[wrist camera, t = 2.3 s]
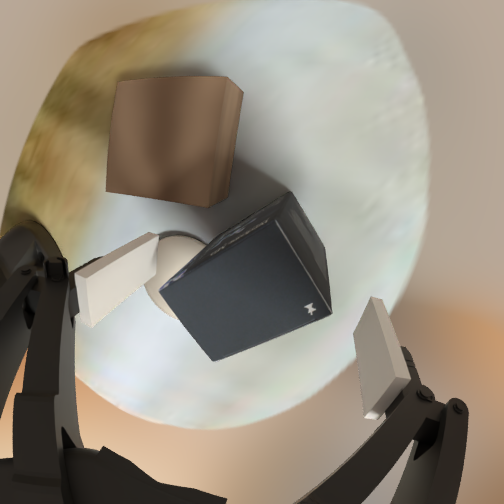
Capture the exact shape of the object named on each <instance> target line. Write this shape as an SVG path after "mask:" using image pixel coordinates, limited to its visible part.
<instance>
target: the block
mask: <svg viewBox="0 0 504 504" xmlns="http://www.w3.org/2000/svg"><path fill="white" fill-rule="evenodd" d="M243 93H244V92H243V91H242V90H241V89H240V88H239V87H238V86H237V85H236V84H235V83H233V82H232V81H231V80H230V79H229V78H228V77H217V76H180V77H159V78H146V79H135V80H127V81H119V82H118V84H117V89H116V95H115V101H114V107H113V114H112V121H111V129H110V138H109V148H108V160H107V175H106V192H112V193H119V194H126V195H132V196H139V197H145V198H152V199H158V200H164V201H171V202H177V203H183V204H188V205H194V206H200V207H206V208H209V207H211V206H213V205H215V204H216V203H218V202H220V201H222V200H224V199H226V198H228V191H229V184H230V177H231V170H232V163H233V156H234V149H235V143H236V136H237V130H238V123H239V117H240V111H241V105H242V99H243Z"/></svg>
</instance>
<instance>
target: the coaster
mask: <svg viewBox="0 0 504 504" xmlns="http://www.w3.org/2000/svg"><path fill="white" fill-rule="evenodd" d="M205 246H207V245H205V244H203V243H202V242H200V241H198V240H196V239H194V238H191V237H187V236H180V235H176V236H169V237H166V238H163V239H161V240H160V241H159V242H158V253H157V267H156V275H155V276H153V277H152V278H151V279H150V280H148V281H147V282H146V283H145V284H144V286H145V288H146V291H147V293H148V295H149V296H150V298H151V299H152V301H153V302H154V303H155V304H156V305H157V306H158V307H159V308H160V309H161V310H162V311H163V312H164V313H166V314H167V315H169V316H171V317H173V318H175V319H177V320H179V319H178V318H177V317H176V315H175V314H174V312H173V311H172V310H171V309H170V307H169V306H168V304H167V303H166V302H165V300H164V299H163V297H162V296H161V295H160V293H159V291H158V290H159V289H160V288H161V287H162V286H163V285H164V284H165V283H166V282H167V281H168V280H169V279H170V278H171V277H173V276H174V275H175V274H176V273H177V272H178V271H179V270H180V269H181V268H183V267H184V266H185V265H186V264H187V263H188V262H189V261H190V260H191V259H192V258H193V257H194V256H196V255H197V254H198V253H199V252H200V251H201V250H202V249H203V248H204V247H205Z"/></svg>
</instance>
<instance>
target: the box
mask: <svg viewBox="0 0 504 504" xmlns="http://www.w3.org/2000/svg"><path fill="white" fill-rule="evenodd" d="M158 291H159V293H160V295H161V296H162V297H163V299H164V300H165V302H166V303H167V304H168V306H169V307H170V309H171V310H172V311H173V312H174V314H175V315H176V317H177V318H178V319H179V320H180V322H181V323H182V324H183V326H184V327H185V328H186V329H187V331H188V332H189V333H190V334H191V336H192V337H193V338H194V339H195V340H196V342H197V343H198V344H199V345H200V347H201V348H202V349H203V350H204V352H205V353H206V354H207V355H208V357H209V358H210V359H211V360H212V361H213V362H218V361H220V360H222V359H224V358H227V357H229V356H232V355H235V354H237V353H239V352H242V351H245V350H247V349H250V348H252V347H255V346H257V345H260V344H262V343H265V342H268V341H270V340H272V339H275V338H278V337H280V336H282V335H285V334H287V333H290V332H292V331H294V330H297V329H299V328H302V327H304V326H307V325H309V324H311V323H313V322H316V321H318V320H321V319H323V318H325V317H327V316H330V315H331V314H332V307H331V296H330V285H329V276H328V268H327V259H326V252H325V247H324V245H323V243H322V242H321V240H320V238H319V236H318V235H317V233H316V231H315V230H314V228H313V226H312V225H311V223H310V221H309V219H308V218H307V216H306V214H305V213H304V211H303V209H302V208H301V206H300V204H299V203H298V201H297V199H296V198H295V196H294V194H293V193H292V192H288V193H287V194H285V195H283V196H282V197H280V198H279V199H277V200H275V201H274V202H272V203H270V204H269V205H267V206H266V207H264V208H262V209H261V210H259V211H257V212H256V213H254V214H253V215H251V216H249V217H248V218H246V219H244V220H243V221H241V222H240V223H238V224H237V225H235V226H233V227H232V228H229V229H228V230H227V231H225V232H224V233H222V234H220V235H218V236H217V237H216V238H215V239H213V240H212V241H211V242H210V243H209V244H208V245H207V246H205V247H204V248H203V249H202V250H201V251H200V252H199V253H198V254H197V255H196V256H194V257H193V258H192V259H191V260H190V261H189V262H188V263H187V264H186V265H185V266H184V267H183V268H181V269H180V270H179V271H178V272H177V273H176V274H175V275H174V276H173V277H171V278H170V279H169V280H168V281H167V282H166V283H165V284H164V285H163V286H162V287H161V288H160V289H159V290H158Z"/></svg>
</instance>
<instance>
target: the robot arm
mask: <svg viewBox="0 0 504 504" xmlns="http://www.w3.org/2000/svg"><path fill="white" fill-rule="evenodd" d="M158 242H159V235H157V234H153V233H150V232H148V233H146V234H144V235H142V236H140V237H139V238H137V239H135V240H133V241H131V242H129V243H127V244H125V245H124V246H122V247H120V248H118V249H116V250H114V251H112V252H111V253H109V254H107V255H105V256H102V257H98V258H94V259H92V260H90V261H89V262H88V263H85V264H83V266H80V267H78V268H76V269H75V270H73V271H71V272H68V261H67V259H66V258H64V257H62V256H61V253H60V251H59V249H58V247H57V246H56V244H55V242H54V240H53V239H52V237H51V236H50V235H49V233H48V232H47V231H46V230H45V229H44V228H43V227H42V226H41V225H40V224H38V223H36V222H34V221H25V222H22V223H20V224H17V225H15V226H14V227H12V228H11V229H10V230H9V231H8V232H7V233H6V234H5V235H4V236H3V237H2V238H1V239H0V418H1V415H2V412H3V409H4V406H5V402H6V399H7V397H8V394H9V391H10V388H11V386H12V383H13V381H14V378H15V376H16V373H17V371H18V368H19V366H20V364H21V361H22V359H23V357H24V354H25V352H26V350H27V348H28V351H27V357H26V364H25V372H24V380H23V389H22V393H16V395H15V398H14V408H13V458H3V459H0V504H226V501H227V498H223V497H219V496H216V495H212V494H209V493H206V492H203V491H200V490H197V489H194V488H187V487H180V486H174V485H169V484H164V483H160V482H157V481H156V480H154V479H153V478H151V477H150V476H149V475H147V474H146V473H145V472H143V471H142V470H141V469H140V468H138V467H137V466H136V465H135V464H134V463H132V462H131V461H130V460H128V459H126V458H124V457H122V456H120V455H118V454H116V453H115V452H113V451H111V450H110V449H108V448H106V447H104V446H103V447H102V449H101V450H100V451H98V450H94V449H88V448H84V446H83V443H82V440H81V437H80V433H79V425H78V416H77V405H76V391H75V323H76V321H75V315H76V314H78V313H80V319H81V322H82V323H84V324H86V325H87V326H89V327H91V328H92V327H93V326H95V325H96V324H97V323H98V322H99V321H100V320H102V319H103V318H104V317H105V316H106V315H107V314H109V313H110V312H111V311H112V310H113V309H115V308H116V307H117V306H118V305H119V304H120V303H122V302H123V301H124V300H125V299H126V298H128V297H129V296H130V295H131V294H133V293H134V292H135V291H136V290H137V289H139V288H140V287H141V286H142V285H144V284H145V283H146V282H147V281H148V280H150V279H151V278H152V277H153V276H155V275H156V267H157V253H158ZM353 336H354V342H355V349H356V355H357V362H358V370H359V378H360V386H361V395H362V404H363V415H364V418H368V419H377V420H378V419H379V418H380V417H381V416H382V415H383V413H384V412H385V414H386V419H385V420H384V422H383V423H382V424H381V425H380V426H379V427H378V428H377V429H376V430H375V431H374V433H373V434H372V435H371V436H370V437H369V438H368V439H367V440H366V441H365V442H364V443H363V445H362V446H360V447H359V448H358V449H357V450H356V451H355V452H354V453H353V454H352V455H351V456H350V457H349V458H348V459H347V460H346V461H345V462H344V463H343V464H342V465H341V466H339V467H338V468H337V469H336V470H335V471H334V472H333V473H332V474H330V475H329V476H328V477H327V478H326V479H325V480H323V481H322V482H321V483H320V484H318V485H317V486H316V487H315V488H313V489H312V490H311V491H310V492H308V493H307V494H306V495H304V496H303V497H302V498H300V499H299V500H298V501H296V502H295V503H293V504H361V503H362V502H363V501H364V500H365V499H366V498H367V497H368V496H369V495H370V494H371V492H372V491H373V490H374V489H375V488H376V487H377V486H378V484H379V483H380V482H381V481H382V480H383V478H384V477H385V476H386V475H387V473H388V472H389V471H390V470H391V468H392V467H393V466H394V464H395V463H396V461H398V459H399V458H400V456H401V455H402V454H403V452H404V451H405V449H406V448H407V447H408V445H409V443H410V442H411V441H412V439H413V440H414V443H413V447H412V450H411V453H410V456H409V459H408V462H407V464H406V467H405V470H404V472H403V475H402V478H401V480H400V483H399V485H398V487H397V490H396V492H395V494H394V497H393V499H392V501H391V503H390V504H455V503H456V499H457V495H458V491H459V487H460V482H461V477H462V471H463V465H464V459H465V451H466V442H467V432H468V416H469V412H468V408H467V406H466V404H465V403H464V402H463V401H462V400H460V399H458V398H452V399H450V400H449V401H448V402H447V403H446V404H443V403H441V402H438V401H435V397H434V394H433V392H432V391H431V390H430V389H429V388H428V387H426V386H424V385H422V384H421V381H420V378H419V375H418V373H417V370H416V368H415V364H414V362H413V358H412V356H411V354H410V352H409V351H408V350H407V349H406V347H402V346H400V345H399V342H398V339H397V336H396V334H395V331H394V328H393V326H392V323H391V320H390V318H389V315H388V313H387V310H386V308H385V305H384V303H383V301H382V299H378V298H375V297H370V300H369V302H368V304H367V306H366V308H365V310H364V313H363V315H362V317H361V319H360V321H359V323H358V325H357V327H356V329H355V331H354V333H353Z"/></svg>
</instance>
